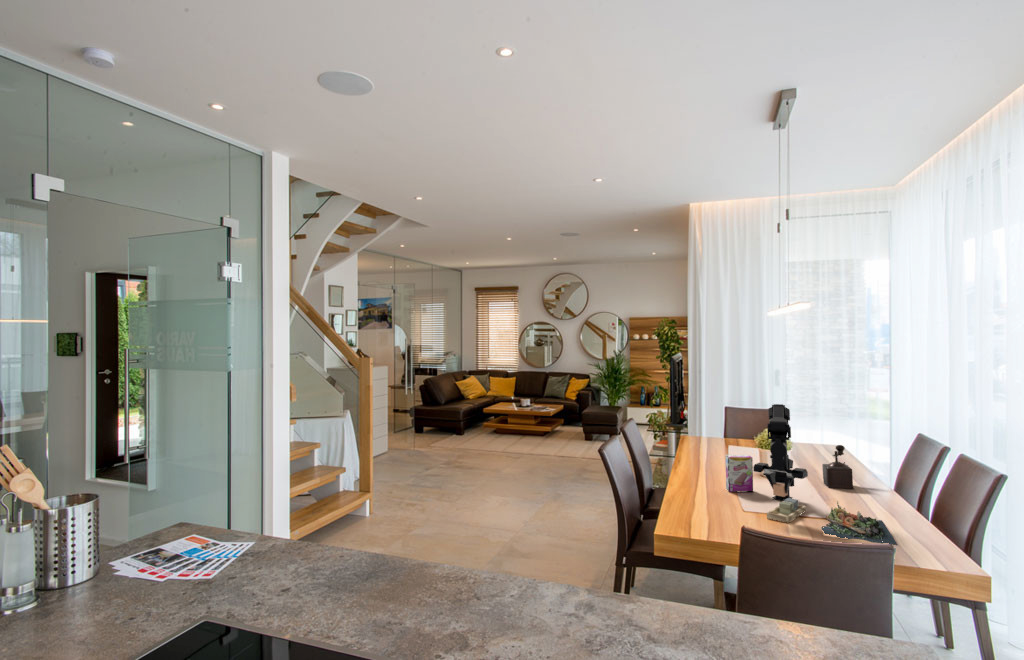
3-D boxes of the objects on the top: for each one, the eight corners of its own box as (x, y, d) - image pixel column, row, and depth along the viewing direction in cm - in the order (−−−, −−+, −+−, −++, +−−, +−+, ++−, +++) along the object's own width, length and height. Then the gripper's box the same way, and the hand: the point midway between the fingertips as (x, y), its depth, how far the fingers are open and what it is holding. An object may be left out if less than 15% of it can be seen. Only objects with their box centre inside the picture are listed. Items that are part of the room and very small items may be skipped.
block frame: (785, 507, 226) (784, 495, 226) (806, 511, 220) (805, 499, 221) (766, 518, 213) (766, 506, 213) (788, 523, 207) (787, 510, 207)
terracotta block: (773, 494, 213) (773, 484, 213) (777, 492, 216) (777, 482, 216) (784, 496, 210) (783, 486, 211) (787, 494, 213) (787, 484, 213)
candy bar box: (729, 492, 250) (727, 457, 251) (725, 489, 255) (724, 454, 256) (754, 492, 249) (752, 456, 250) (750, 489, 254) (749, 454, 255)
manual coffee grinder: (855, 489, 250) (853, 450, 251) (828, 488, 253) (827, 449, 254) (845, 481, 265) (843, 444, 266) (819, 480, 268) (818, 443, 269)
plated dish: (806, 511, 223) (805, 493, 223) (887, 520, 211) (886, 501, 211) (815, 541, 191) (815, 521, 191) (911, 553, 179) (911, 531, 179)
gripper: (811, 452, 212) (813, 492, 212) (763, 446, 226) (764, 484, 226) (801, 457, 205) (803, 498, 204) (752, 450, 218) (753, 489, 218)
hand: (780, 492), depth 213 cm, fingers closed on terracotta block, 4 cm apart
